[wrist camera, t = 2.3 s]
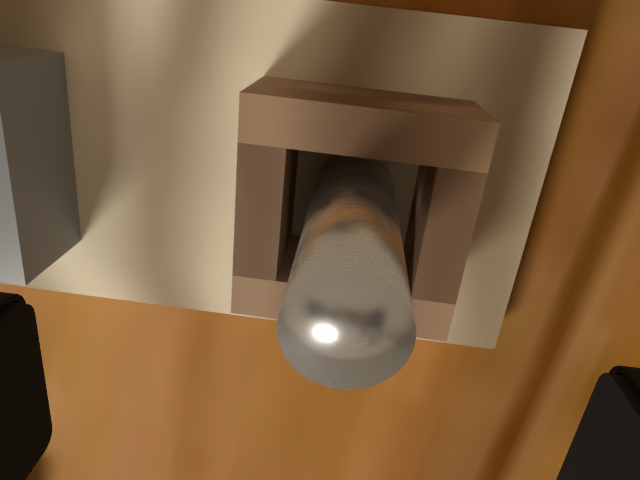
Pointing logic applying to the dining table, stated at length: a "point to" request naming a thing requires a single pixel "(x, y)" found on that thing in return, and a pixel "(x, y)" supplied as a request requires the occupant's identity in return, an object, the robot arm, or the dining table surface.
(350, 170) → the metal peg
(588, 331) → the dining table surface
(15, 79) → the gray square socket
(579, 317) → the dining table surface
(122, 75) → the socket board
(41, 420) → the robot arm
